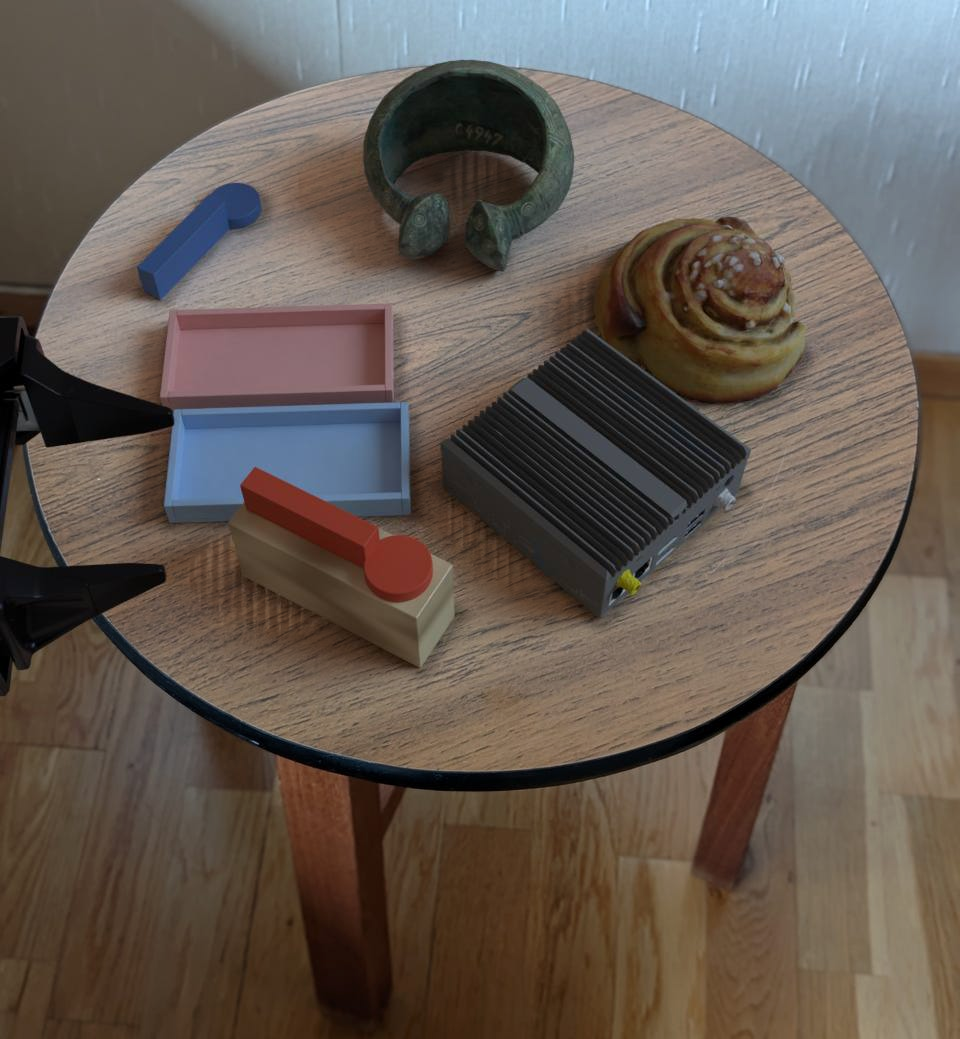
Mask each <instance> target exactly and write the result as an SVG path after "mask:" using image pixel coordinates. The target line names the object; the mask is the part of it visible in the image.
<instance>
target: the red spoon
mask: <svg viewBox="0 0 960 1039" xmlns="http://www.w3.org/2000/svg"><path fill="white" fill-rule="evenodd" d="M240 488H241V491H242V495H243V499H244V503H245V506H246V510H248V511H250V512H252V513H254V514H256V515H258V516H260V517H262V518H264V519H266V520H268V521H270V522H272V523H274V524H276V525H278V526H280V527H282V528H284V529H286V530H288V531H290V532H292V533H294V534H296V535H298V536H300V537H302V538H304V539H306V540H308V541H310V542H312V543H314V544H316V545H318V546H320V547H322V548H324V549H326V550H328V551H330V552H332V553H334V554H336V555H338V556H340V557H342V558H344V559H346V560H348V561H350V562H352V563H353V564H355V565H357V566H359V567H361V568H363V569H364V576H365V581H366V584H367V586H368V587H369V589H370V590H371V591H372V592H373V593H374V594H375V595H376V596H378V597H379V598H381V599H383V600H386V601H390V602H406V601H409V600H412V599H415V598H416V597H418V596H420V595H421V594H422V593H423V592H424V591H425V590H426V589H427V588H428V586H429V585H430V583H431V580H432V577H433V562H432V557H431V554H432V553H431V552H430V550H429V548H428V547H427V546H426V544H424V543H423V542H422V541H420V540H419V539H417V538H414V537H412V536H409V535H404V534H394V535H393V536H389V537H385V538H383V539H381V540H380V537H379V529H380V528H379V527H378V525H375V524H374V523H371V522H369V521H367V520H365V519H364V518H362V517H357V516H355V515H353V514H351V513H349V512H347V511H345V510H342V509H340V508H338V507H336V506H334V505H332V504H330V503H328V502H326V501H324V500H322V499H320V498H318V497H316V496H314V495H312V494H310V493H308V492H306V491H304V490H302V489H300V488H298V487H296V486H294V485H292V484H290V483H288V482H285V481H283V480H281V479H279V478H277V477H275V476H273V475H271V474H269V473H267V472H265V471H263V470H261V469H259V468H257V467H254V468H253V470H252V471H251V472H250V473H249V475H248V476H247V477H246V478H245V479H244V481H243V482H242V483H241V484H240ZM378 528H379V529H378Z"/></svg>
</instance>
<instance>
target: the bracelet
mask: <svg viewBox="0 0 960 1039" xmlns="http://www.w3.org/2000/svg"><path fill="white" fill-rule="evenodd" d="M362 147H363V148H362V165H363V172H364V176H365V179H366V182H367V185H368V188H369V190H370V193H371V194H372V196H373V199H374V200H375V201H376V202H377V204H378V205H379V206H380V208H382V209H383V210H384V211H385V213H386V214H387V215H388V216H389V217H390V218H391V219H392V220H393V221H394V222H396V223H397V224H399V231H398V238H397V247H398V253H399V254H400V256H401V257H403V258H404V259H405V260H409V261H414V260H418V259H423V258H426V257H428V256H431V255H432V254H434V253H436V252H437V251H439V249H440V248H441V247H443V245H445V244H446V242H447V241H448V239H449V235H450V231H451V223H452V221H451V214H450V206H449V203H448V201H447V198H446V197H445V196H444V195H443V194H441V193H431V192H429V193H425V194H421V195H417V196H414V195H412V194H409V193H407V192H406V191H404V190H403V189H401V188H399V187H398V186H397V185H396V182H397V180H398V179H399V178H400V177H401V176H402V175H403V174H404V173H405V172H406V171H407V170H408V169H409V168H410V167H411V166H412V165H413V164H414V163H416V162H418V161H421V160H422V159H426V158H429V157H433V156H437V155H440V154H447V153H458V152H459V153H460V152H487V153H493V154H497V155H502V156H507V157H511V158H513V159H514V160H516V161H518V162H520V163H523V164H526V165H527V166H528V167H529V168H531V169H532V170H534V171H535V172H536V173H537V175H536V176H535V178H534V180H533V181H532V183H531V184H530V186H529V187H528V188H527V189H526V191H525V192H524V194H522V196H520V197H519V199H517V200H515V201H512V202H509V203H508V204H494V203H493V204H492V203H490V202H487V201H483V200H480V199H477V200H476V202H475V203H474V205H473V206H472V208H471V210H470V213H469V216H468V218H467V220H466V223H465V230H464V243H465V245H466V247H467V249H468V250H469V252H470V253H471V254H472V255H473V257H475V258H476V260H478V261H479V262H481V263H482V264H483V265H485V266H486V267H488V268H489V269H493V270H496V271H500V272H504V271H506V268H507V263H508V258H509V254H510V251H511V245H512V241H513V240H519V239H520V238H522V237H523V236H524V235H526V234H529V233H530V232H532V231H534V230H536V229H537V228H539V226H541V225H542V224H544V223H545V222H546V221H547V220H548V219H549V218H550V217H551V216H553V215H554V214H555V213H556V212H558V210H559V209H560V208H561V206H562V204H563V203H564V201H565V199H566V198H567V195H568V193H569V191H570V188H571V186H572V181H573V177H574V169H575V168H574V167H575V150H574V144H573V140H572V135H571V131H570V129H569V125H568V124H567V122H566V120H565V117H564V114H563V113H562V111H561V108H560V107H559V104H557V102H556V100H554V98H553V97H552V96H551V95H550V94H549V92H548V91H547V90H546V89H544V88H543V87H542V86H541V85H539V84H538V83H536V82H535V81H534V80H533V79H532V78H529V77H528V76H526V75H525V74H522V73H521V72H519V71H517V70H515V69H513V68H511V67H508V66H506V65H503V64H500V63H498V62H497V63H496V62H493V61H488V60H479V59H478V60H477V59H457V60H456V59H455V60H448V61H443V62H438V63H435V64H434V63H433V64H432V65H428V66H426V67H424V68H423V69H420V70H418V71H416V72H413V73H411V74H410V75H409V76H407V77H405V78H404V79H402V80H401V81H400V82H399V83H397V84H396V85H395V86H393V87H392V89H390V90H389V91H388V92H387V93H386V94H385V95H384V96H383V98H381V101H380V102H379V103H378V105H377V106H376V108H375V110H374V112H373V114H372V115H371V117H370V119H369V122H368V124H367V128H366V132H365V133H364V138H363V145H362Z"/></svg>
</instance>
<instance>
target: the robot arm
mask: <svg viewBox="0 0 960 1039" xmlns="http://www.w3.org/2000/svg"><path fill="white" fill-rule="evenodd" d="M174 422H175V419H174V414H173V410H172V409H171V408H169V407H166V406H163V405H162V404H160V403H156V402H152V401H150V400H146V399H143V398H139V397H137V396H133V395H130V394H127V393H124V392H120V391H117V390H114V389H110V388H107V387H105V386H101V385H98V384H95V383H93V382H89V381H87V380H85V379H83V378H80V377H78V376H75V375H73V374H71V373H68V372H66V371H64V370H63V369H62V368H60V367H59V366H57V365H56V364H55V363H54V362H53V361H52V360H50V358H48V357H47V356H45V352H44V349H43V347H42V343H41V341H40V340H39V338H37V337H35V336H33V335H29V331H28V329H27V325H26V322H25V319H24V316H23V315H20V316H19V315H18V316H17V315H16V316H15V315H14V316H13V315H11V316H0V553H1V551H2V544H3V537H4V528H5V521H6V515H7V514H6V513H7V505H8V498H9V491H10V484H11V483H10V482H11V476H12V468H13V460H14V454H15V446H24V445H26V444H28V443H29V442H30V441H31V440H32V439H34V438H35V437H37V436H38V435H41V437H42V440H43V443H44V446H45V448H55V447H62V446H69V445H76V444H77V445H78V444H82V443H89V442H96V441H103V440H109V439H110V440H111V439H116V438H117V439H118V438H124V437H130V436H137V435H144V434H145V435H146V434H149V433H153V432H157V431H162V430H166V429H169V428H172V426H174ZM166 582H167V571H166V567H165V566H164V565H163V564H161V563H147V562H146V563H145V562H118V563H117V562H116V563H98V564H97V563H96V564H82V565H79V564H78V565H63V566H36V565H33V564H29V563H26V562H23V561H20V560H16V559H13V558H9V557H7V556H2V555H0V697H6V696H7V695H8V693H9V692H10V689H11V681H12V674H13V673H12V672H13V666H15V669H16V670H17V671H25V670H26V671H27V670H29V669H30V668H31V664H32V658H33V655H35V653H36V652H39V651H40V650H42V649H43V648H45V647H46V646H49V645H50V644H52V643H54V642H55V641H57V640H58V639H59V638H61V637H63V636H65V635H66V634H68V633H70V632H72V630H74V629H76V628H78V627H79V626H81V625H83V624H84V623H86V622H88V621H90V620H92V619H94V618H96V617H98V616H99V615H101V614H104V613H105V612H108V611H110V610H112V609H114V608H116V607H118V606H120V605H122V604H124V603H126V602H128V601H130V600H132V599H135V598H136V597H138V596H140V595H142V594H144V593H146V592H149V591H151V590H153V589H155V588H156V587H159V586H161V585H163V584H165V583H166Z"/></svg>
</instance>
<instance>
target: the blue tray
mask: <svg viewBox="0 0 960 1039" xmlns="http://www.w3.org/2000/svg"><path fill="white" fill-rule="evenodd" d="M174 419H175V422H174V426H172V427H171V435H170V445H169V453H168V463H167V471H166V479H165V480H166V481H165V490H164V499H163V500H164V501H163V508H164V511H165V514H166V516H167V519H168V523H169V524H184V523H213V522H216V523H217V522H228V521H229V520H230V519H231V518H232V516H233V515H234V514H235V513H236V512H237V510H238V509H239V508H240V507H241V505H242V504H243V503H244V499H243V495H242V491H241V488H240V484H241V483H242V482H243V481H244V479H245V478H246V477H247V476H248V475H249V473H250V472H251V471H252V470H253V468H254V467H257V468H259V469H261V470H263V471H265V472H267V473H269V474H271V475H273V476H275V477H277V478H279V479H281V480H283V481H285V482H288V483H290V484H292V485H294V486H296V487H298V488H300V489H302V490H304V491H306V492H308V493H310V494H312V495H314V496H316V497H318V498H320V499H322V500H324V501H326V502H328V503H330V504H332V505H334V506H336V507H338V508H340V509H342V510H345V511H347V512H349V513H351V514H353V515H355V516H357V517H359V518H365V517H389V516H390V517H391V516H392V517H393V516H411V514H412V510H411V509H412V508H411V507H412V506H411V500H412V499H411V440H410V439H411V438H410V437H411V436H410V434H411V433H410V409H409V401H398V402H396V401H394V402H393V403H362V404H330V405H299V406H267V407H236V408H204V409H182V410H181V409H175V410H174Z"/></svg>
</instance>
